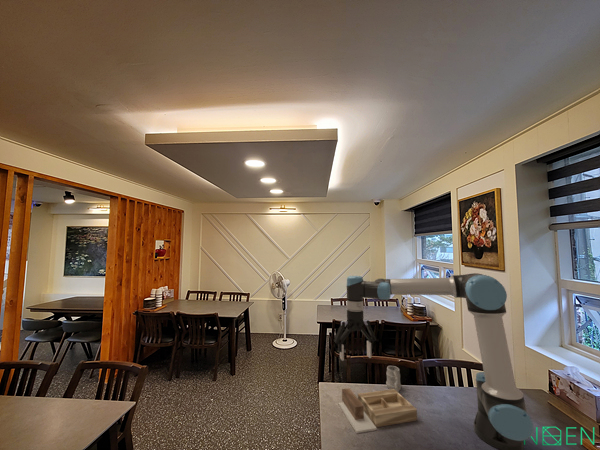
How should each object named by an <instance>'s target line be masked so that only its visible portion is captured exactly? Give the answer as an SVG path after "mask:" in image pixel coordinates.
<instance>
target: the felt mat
mask: <svg viewBox="0 0 600 450" xmlns="http://www.w3.org/2000/svg"><path fill="white" fill-rule="evenodd" d="M338 407H339V408H340V409H341V411H342V413H343V414H344V416H345V417H346V419H347V420H348V422H349V423H350V425H351V427H352V428H353V430H354V431H355V433H356V434H361V433H367V432H373V431H377V428H378V427H376V426H375V425H374V424H373V423H372V421H371V420H370V419H369V417H368V416H367V415H366V413H365V412H364V419H357V420H355V419H354V417H353V416H352V414H351V413H350V411H349V410H348V408H347V407H346V405H345V404H344V402H343V401H340V402H338Z"/></svg>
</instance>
